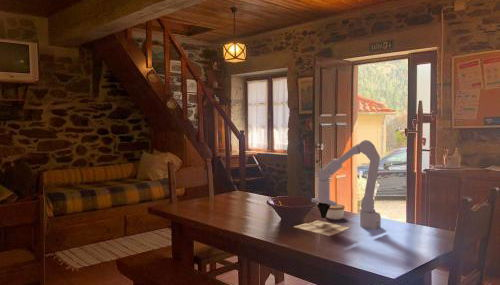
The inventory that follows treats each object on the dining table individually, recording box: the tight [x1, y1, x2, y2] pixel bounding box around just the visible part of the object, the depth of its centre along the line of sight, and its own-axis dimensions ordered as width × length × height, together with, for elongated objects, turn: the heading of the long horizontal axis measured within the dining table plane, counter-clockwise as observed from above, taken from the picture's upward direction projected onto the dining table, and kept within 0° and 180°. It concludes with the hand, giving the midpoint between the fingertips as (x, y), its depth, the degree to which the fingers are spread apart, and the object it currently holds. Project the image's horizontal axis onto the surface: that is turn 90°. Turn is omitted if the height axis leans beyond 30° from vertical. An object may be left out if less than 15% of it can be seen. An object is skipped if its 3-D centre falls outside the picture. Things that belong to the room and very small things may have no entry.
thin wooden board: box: [293, 222, 342, 237], centre depth 191 cm, size 22×10×1 cm, turn 42°
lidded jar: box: [326, 203, 345, 220], centre depth 214 cm, size 11×11×9 cm
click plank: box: [307, 220, 351, 232], centre depth 198 cm, size 20×8×1 cm, turn 42°
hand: (323, 217), depth 203 cm, fingers closed
